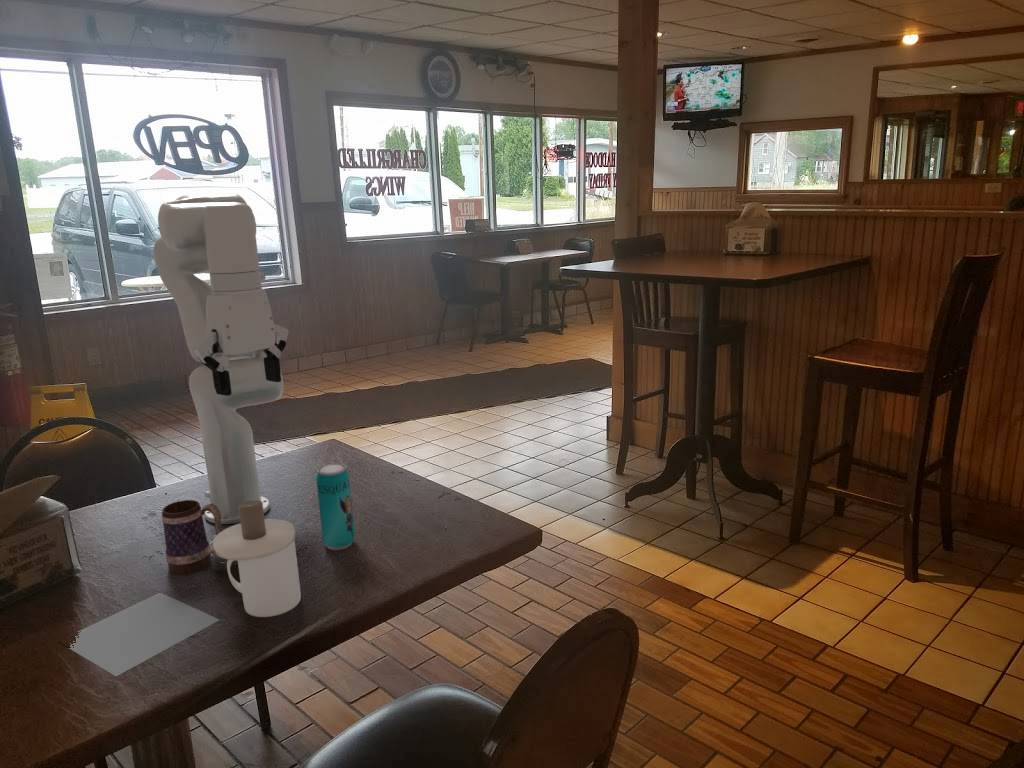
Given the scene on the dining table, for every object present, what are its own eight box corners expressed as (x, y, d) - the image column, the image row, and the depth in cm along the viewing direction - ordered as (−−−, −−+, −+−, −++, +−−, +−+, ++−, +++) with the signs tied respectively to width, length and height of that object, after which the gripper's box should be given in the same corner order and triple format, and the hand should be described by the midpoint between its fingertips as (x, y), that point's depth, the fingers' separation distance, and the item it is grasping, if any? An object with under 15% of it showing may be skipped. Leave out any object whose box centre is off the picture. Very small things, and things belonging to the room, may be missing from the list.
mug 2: (249, 586, 123) (241, 526, 121) (312, 595, 120) (305, 534, 117) (214, 613, 115) (205, 550, 113) (280, 624, 112) (272, 559, 109)
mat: (58, 644, 109) (57, 641, 108) (160, 595, 121) (160, 592, 121) (116, 680, 100) (116, 676, 100) (220, 623, 113) (220, 619, 112)
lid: (197, 548, 114) (191, 510, 112) (262, 519, 123) (258, 484, 122) (246, 567, 107) (241, 527, 105) (311, 535, 117) (307, 498, 115)
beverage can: (347, 552, 134) (339, 474, 130) (318, 550, 135) (309, 473, 131) (360, 538, 139) (353, 463, 136) (331, 537, 140) (323, 462, 137)
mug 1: (160, 577, 127) (149, 512, 125) (182, 558, 134) (173, 496, 131) (216, 579, 126) (206, 513, 123) (236, 559, 133) (227, 496, 130)
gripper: (266, 276, 127) (277, 374, 131) (172, 288, 113) (188, 397, 117) (295, 278, 123) (306, 378, 127) (201, 290, 109) (217, 403, 113)
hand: (249, 387), depth 122 cm, fingers open, 9 cm apart
